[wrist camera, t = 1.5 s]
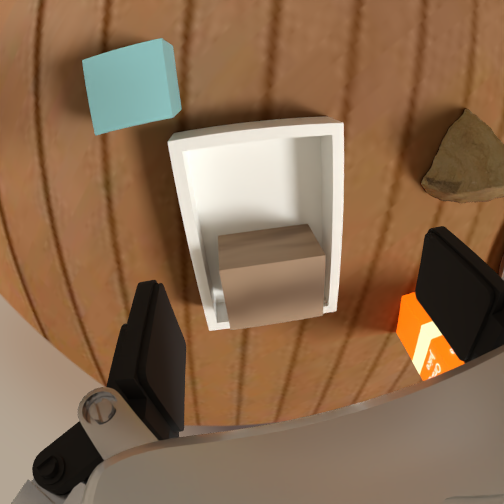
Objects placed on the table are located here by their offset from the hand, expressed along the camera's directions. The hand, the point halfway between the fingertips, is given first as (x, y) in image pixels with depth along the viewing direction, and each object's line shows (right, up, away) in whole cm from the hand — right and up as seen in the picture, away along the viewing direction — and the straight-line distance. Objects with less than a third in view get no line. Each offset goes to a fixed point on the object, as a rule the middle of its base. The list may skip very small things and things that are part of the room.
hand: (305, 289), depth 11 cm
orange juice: (+24, -7, +31) cm, 40 cm away
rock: (+20, +13, +19) cm, 31 cm away
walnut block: (0, +1, +23) cm, 23 cm away
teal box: (-11, +16, +13) cm, 23 cm away
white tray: (-1, +4, +21) cm, 22 cm away
